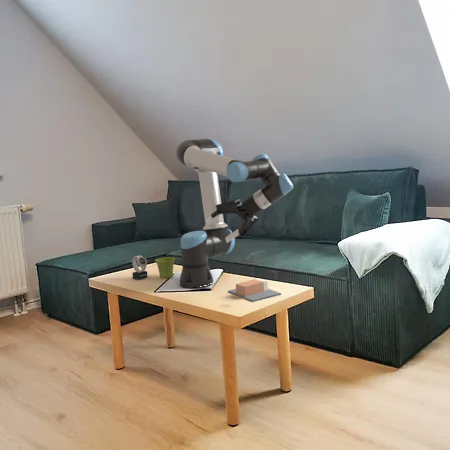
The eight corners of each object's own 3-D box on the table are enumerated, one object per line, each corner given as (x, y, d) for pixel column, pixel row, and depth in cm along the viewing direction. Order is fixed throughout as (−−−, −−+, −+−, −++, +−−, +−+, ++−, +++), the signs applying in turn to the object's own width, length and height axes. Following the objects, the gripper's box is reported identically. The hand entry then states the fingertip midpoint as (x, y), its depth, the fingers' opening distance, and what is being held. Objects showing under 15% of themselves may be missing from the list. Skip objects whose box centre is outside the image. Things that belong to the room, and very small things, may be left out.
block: (235, 284, 206) (257, 278, 213) (236, 293, 206) (258, 287, 213) (244, 286, 201) (267, 280, 208) (245, 296, 202) (267, 290, 209)
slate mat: (228, 291, 211) (228, 290, 211) (255, 285, 218) (255, 284, 218) (252, 301, 196) (252, 300, 196) (281, 294, 203) (281, 293, 203)
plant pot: (152, 277, 243) (151, 260, 241) (168, 273, 249) (166, 256, 248) (164, 280, 236) (163, 262, 235) (180, 276, 243) (178, 258, 241)
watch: (141, 280, 238) (139, 258, 237) (130, 278, 244) (128, 256, 242) (150, 277, 242) (148, 255, 241) (139, 275, 248) (137, 254, 246)
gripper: (242, 189, 191) (199, 220, 197) (276, 225, 206) (235, 253, 212) (238, 178, 197) (196, 208, 203) (272, 214, 212) (232, 241, 218)
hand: (216, 231), depth 207 cm, fingers open, 13 cm apart
